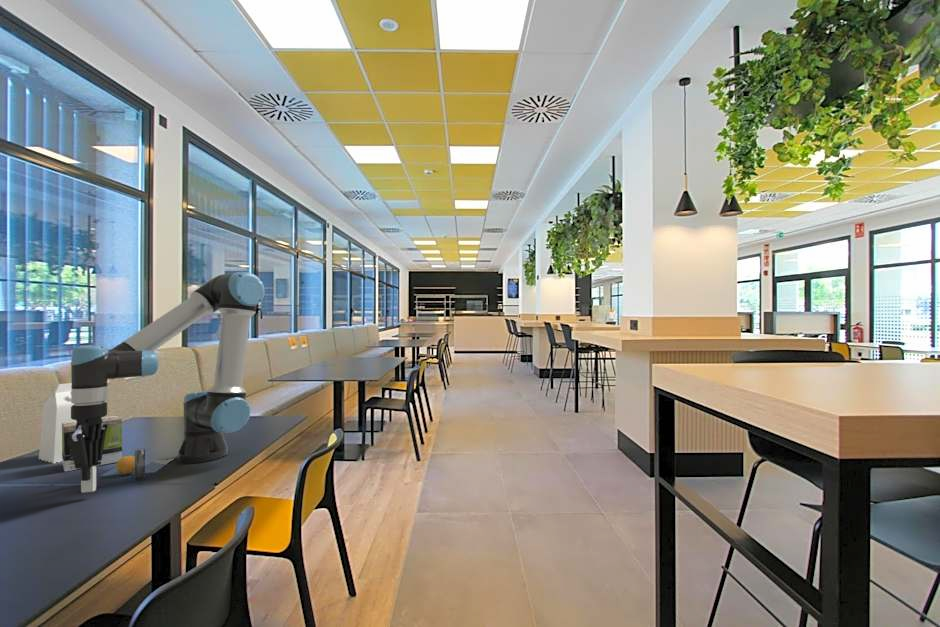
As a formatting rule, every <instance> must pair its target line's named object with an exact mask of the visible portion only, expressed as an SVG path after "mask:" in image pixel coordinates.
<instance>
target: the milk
mask: <svg viewBox="0 0 940 627" xmlns="http://www.w3.org/2000/svg"><path fill="white" fill-rule="evenodd" d="M71 385H72V382H69V383H58V384H56V387H55V389H54V391H53V393H52V394H51V395H50V396H49V398H47V400H46V401H45V402H44V405H43V406H42V407H43V408H42V418H41V429H40V441H39V452H38V454H39V455H38V460H40V459H41V461H44V460H45V461H44V462H47V461H48V463H50V462H52V463H51V464H57V463H56V462H58V463H62V462H61V461H62V423H64V422H72V421H76V420H73V419H71V407H72V405H74V404H73V403H71V394H70V393H71V390H72V388H71Z"/></svg>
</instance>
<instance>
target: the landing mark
mask: <svg viewBox="0 0 940 627" xmlns="http://www.w3.org/2000/svg"><path fill="white" fill-rule="evenodd" d="M154 462H155V461H153V462H150V463H149V464H147V465H146V466H145V474H156V472H158V471H160V470H161V469H163V468H165V467H166V466H167V465H168V464H160V463H154ZM165 465H166V466H165ZM162 467H163V468H162ZM159 469H160V470H159ZM129 474H130V475H135V470H134V471H133V472H132V473H129ZM113 475H116V476H128V475H127V474H121V473H119V472H118V471H117V469H116V467H114V468H112V469H110V470H108V471H107V472H105V473H103V474H102V475H100V476H101V477H112V476H113ZM113 477H114V476H113Z"/></svg>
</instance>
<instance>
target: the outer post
mask: <svg viewBox="0 0 940 627" xmlns="http://www.w3.org/2000/svg"><path fill="white" fill-rule="evenodd" d="M98 467H99V465H96V484H98Z"/></svg>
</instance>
